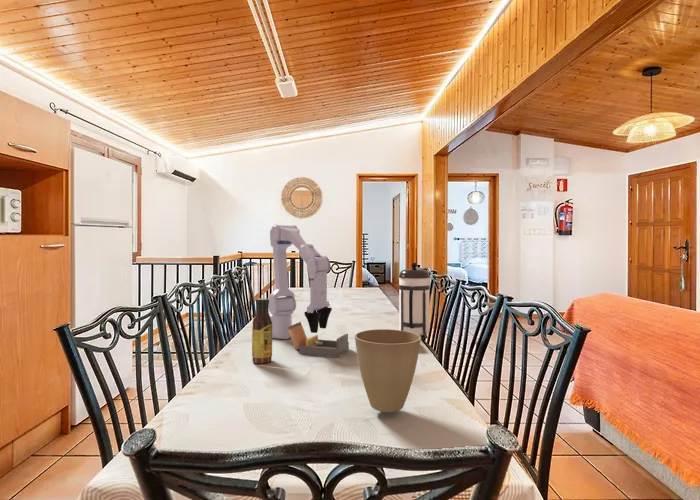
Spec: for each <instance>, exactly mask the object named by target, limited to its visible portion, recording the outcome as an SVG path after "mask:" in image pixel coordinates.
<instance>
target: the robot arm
mask: <svg viewBox="0 0 700 500" xmlns="http://www.w3.org/2000/svg"><path fill="white" fill-rule="evenodd" d="M300 232H301V231H300V229H299V228H298V227H297V225H283V224H280V225H279V224H273V225H272V226H271V229H270V230H269V241H270V246H271V247H272V257H273V259H272V260H273V274H274V275H273V276H274V288H275V289H274V290H273V291H272V292H271V293H270V294H269V296H268V299H269V304H268V311H269V312H270V313H269V315H270V318H271V321H272V339H279V340H280V339H284V340H287V339H291V335H290V333H289V330H288V328H287V327H289V326H291V325H293V324H292V321H293V317H292V316H293V314H294V312H295V310H296V309H297V300H296V298H295V293H294V292H293V291H292V290H290V289H289V277H288V261H287V250H288V248H289V247H291V246H292V245H293V246H294V247H295V248H297V250H298V255H299V257H300V258H301V259H302V260H303V262H304V263H305V264H306V269H307V272H308V277H309V279H310V282H309V284H310V285H309V286H310V288H309V289H310V290H309V291H310V293H309V294H310V299H309V301H310V303H309V305H308V306H306V311H304V312H303V313H304V316H305V318H306V320H307V323H308V326H309V330H310V333H312V334H313V333H314V334H317V333H318V330H319V328H320V329H326V328H327V325H328V320H329V317H330V315H331V312H332V311H333V309H332V307H331V304H330V301H328V299H327V297H328V294H327V293H328V292H327V291H328V288H327V286H328V283H327V282H328V276H327V275H328V272H329V271H330V270H331V260H330V259H329V257H328V256H326V255H324V256H323V255H321V254H320V252H318V250H316V249H315V247H314V245H313V244H310V243H306V241H305V240H304V239H303V236H302V235H301V233H300Z"/></svg>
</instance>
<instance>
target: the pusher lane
mask: <svg viewBox="0 0 700 500" xmlns="http://www.w3.org/2000/svg"><path fill="white" fill-rule="evenodd" d="M318 342H323V345H317V346H316V347H315V346H304V345H300V346H299V349H298V350H299V355H306V356H316V357H317V356H318V357H324V358H326V357H327V358H336V359H337V358H340V357H341V356H342V355H344V354H345V353H346V352H348V351H349V350H350V349H349V348H350V346H349V345H350V343H349V334H348V333H344V334H342V335H341V336H339V337H338V338H336V340H330V339H329V340H328V339H319V338H318Z"/></svg>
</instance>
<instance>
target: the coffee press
mask: <svg viewBox="0 0 700 500" xmlns="http://www.w3.org/2000/svg"><path fill="white" fill-rule="evenodd" d="M417 266H418V264H417V263H416V262H412V263H411V267H412V268H405V269H402V270H401V271H400V272H399V274H398V279H399V280H398V281H399V283H398V291H399V292H398V296H399V297H398V298H399V303H398V305H399V310H398V313H399V315H398V317H399V328H398V330H401V331H408V332H412V333H415V334H418V335H419V336H420V337H421V339H422V338H424V339H428V334H429V333H430V291H431V285H430V278H431V275H430V274H429V271H428V270H426V269H423V268H422V269H421V268H417Z"/></svg>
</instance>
